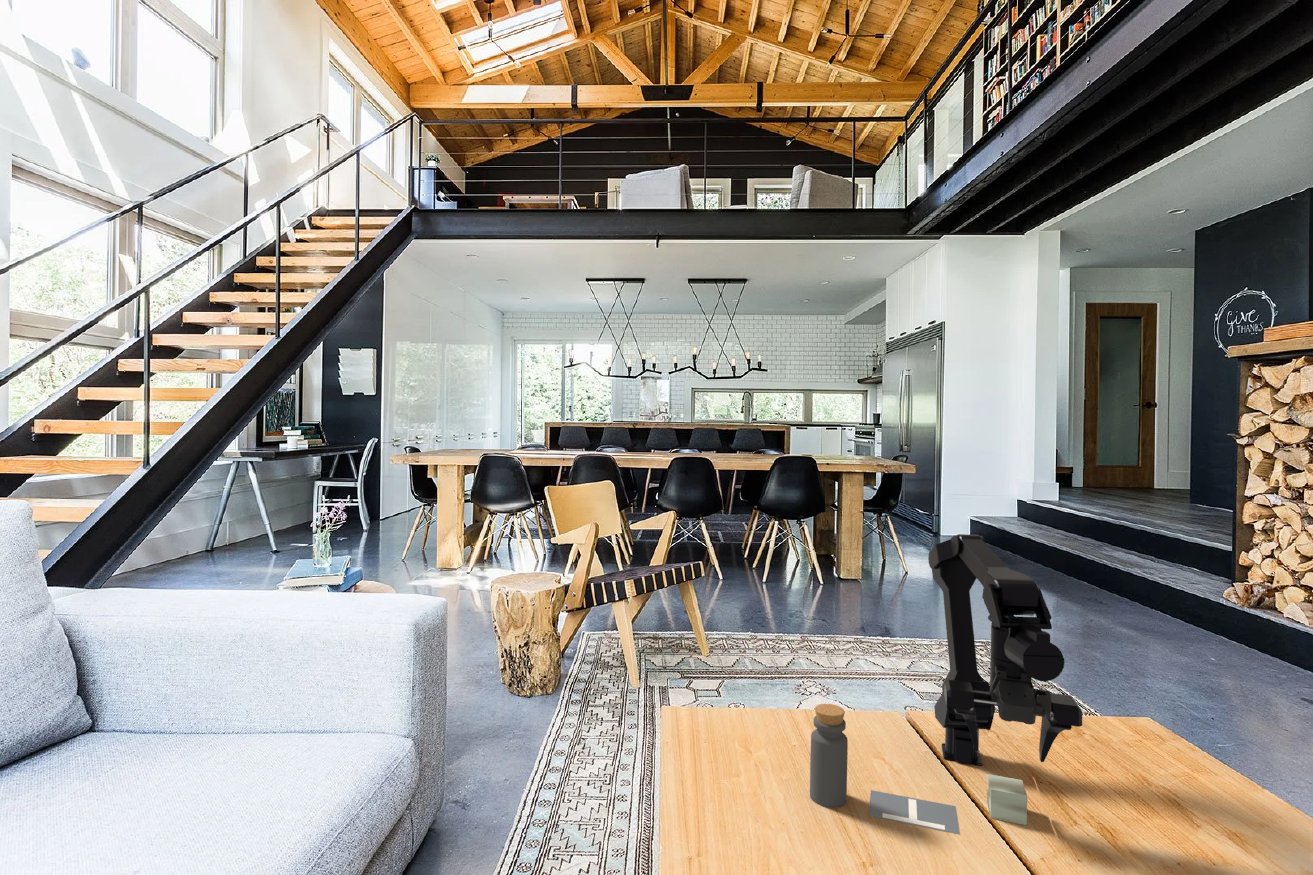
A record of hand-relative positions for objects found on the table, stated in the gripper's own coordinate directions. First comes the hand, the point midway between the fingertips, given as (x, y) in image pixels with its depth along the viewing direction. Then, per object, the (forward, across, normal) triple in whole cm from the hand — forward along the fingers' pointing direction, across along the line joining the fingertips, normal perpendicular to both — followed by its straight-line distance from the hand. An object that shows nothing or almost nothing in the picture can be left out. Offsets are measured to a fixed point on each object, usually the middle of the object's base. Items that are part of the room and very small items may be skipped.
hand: (1008, 755), depth 105 cm
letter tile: (+10, -14, -5) cm, 18 cm away
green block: (+10, 0, 0) cm, 10 cm away
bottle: (+10, -27, -6) cm, 29 cm away
